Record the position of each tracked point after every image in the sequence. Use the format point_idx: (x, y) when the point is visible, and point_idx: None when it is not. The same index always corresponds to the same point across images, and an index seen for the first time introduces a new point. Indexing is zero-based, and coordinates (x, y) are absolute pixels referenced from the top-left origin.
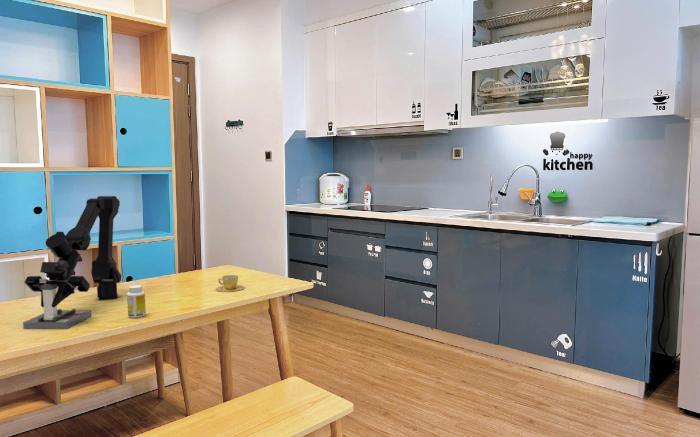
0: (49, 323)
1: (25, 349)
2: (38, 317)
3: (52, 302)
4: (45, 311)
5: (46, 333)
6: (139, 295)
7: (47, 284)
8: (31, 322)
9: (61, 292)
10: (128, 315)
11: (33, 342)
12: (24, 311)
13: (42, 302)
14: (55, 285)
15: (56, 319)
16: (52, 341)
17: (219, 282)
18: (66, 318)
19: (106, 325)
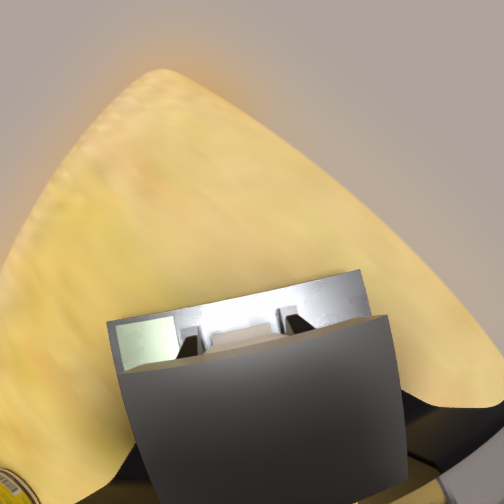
0: (207, 304)
1: (121, 93)
2: None
3: (195, 353)
4: (268, 336)
5: (167, 238)
6: None
7: (355, 472)
8: (316, 280)
9: (130, 456)
10: (22, 484)
11: (138, 138)
12: None
13: (299, 330)
14: (163, 489)
15: (183, 337)
16: (78, 166)
17: None
18: None
19: (15, 386)
